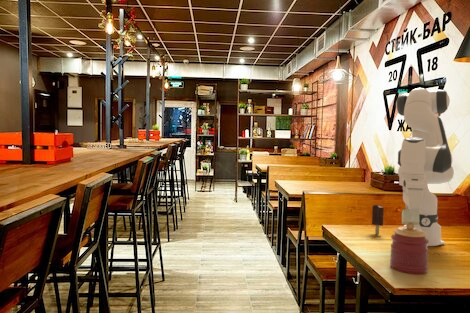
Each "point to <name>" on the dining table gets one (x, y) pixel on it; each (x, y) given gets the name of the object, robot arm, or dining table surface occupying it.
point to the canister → (409, 250)
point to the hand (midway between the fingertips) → (410, 217)
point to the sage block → (407, 217)
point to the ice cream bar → (377, 217)
